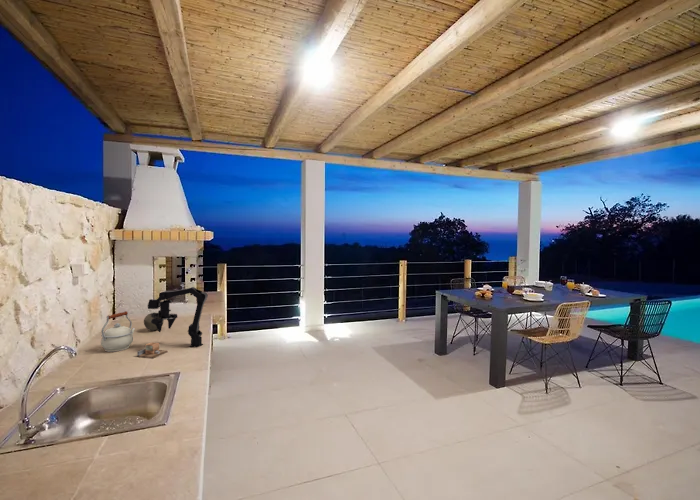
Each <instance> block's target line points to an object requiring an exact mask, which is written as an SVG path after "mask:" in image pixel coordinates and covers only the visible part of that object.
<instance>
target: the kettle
mask: <svg viewBox="0 0 700 500" xmlns="http://www.w3.org/2000/svg"><path fill="white" fill-rule="evenodd" d="M128 314H129V312H128V311H122V312H118V313H114V314H109V315H106V322H105V324H104V325H103V327H102V329H101V339H100V346H101V347H102V348H103V349H104V351H105V352H109V353H114V352H121V351H125V350H127V349H129V348H130V345H131V344H132V343H133V341H134V337H133V334H134V332H135V329H136V328H135V327H132V325H133V323H132V320H131V319H130V318H129V316H128ZM123 316H125V318H126V319H127V320H128V321H129V326H125V325H121V323H118V322H117V323H115V324H114V325H113V326H112V327H109V328H107V329H106V330H105V328H106V326H107V325H108V323H109V322H110V321H109V320H111V319H115V318H120V317H123Z"/></svg>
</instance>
